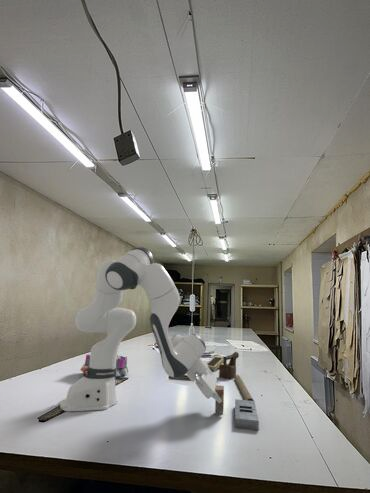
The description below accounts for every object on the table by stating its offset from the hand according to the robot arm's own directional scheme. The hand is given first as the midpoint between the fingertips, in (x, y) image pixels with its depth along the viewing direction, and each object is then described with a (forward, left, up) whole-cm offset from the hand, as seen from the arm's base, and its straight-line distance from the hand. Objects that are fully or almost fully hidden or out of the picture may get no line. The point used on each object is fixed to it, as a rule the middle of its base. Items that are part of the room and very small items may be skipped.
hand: (221, 398), depth 118 cm
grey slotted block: (+7, -6, -6) cm, 11 cm away
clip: (-1, 0, -5) cm, 5 cm away
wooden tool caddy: (+41, +50, -6) cm, 65 cm away
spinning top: (-28, +74, -6) cm, 80 cm away
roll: (+30, +24, -6) cm, 39 cm away
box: (+43, +71, -6) cm, 83 cm away
